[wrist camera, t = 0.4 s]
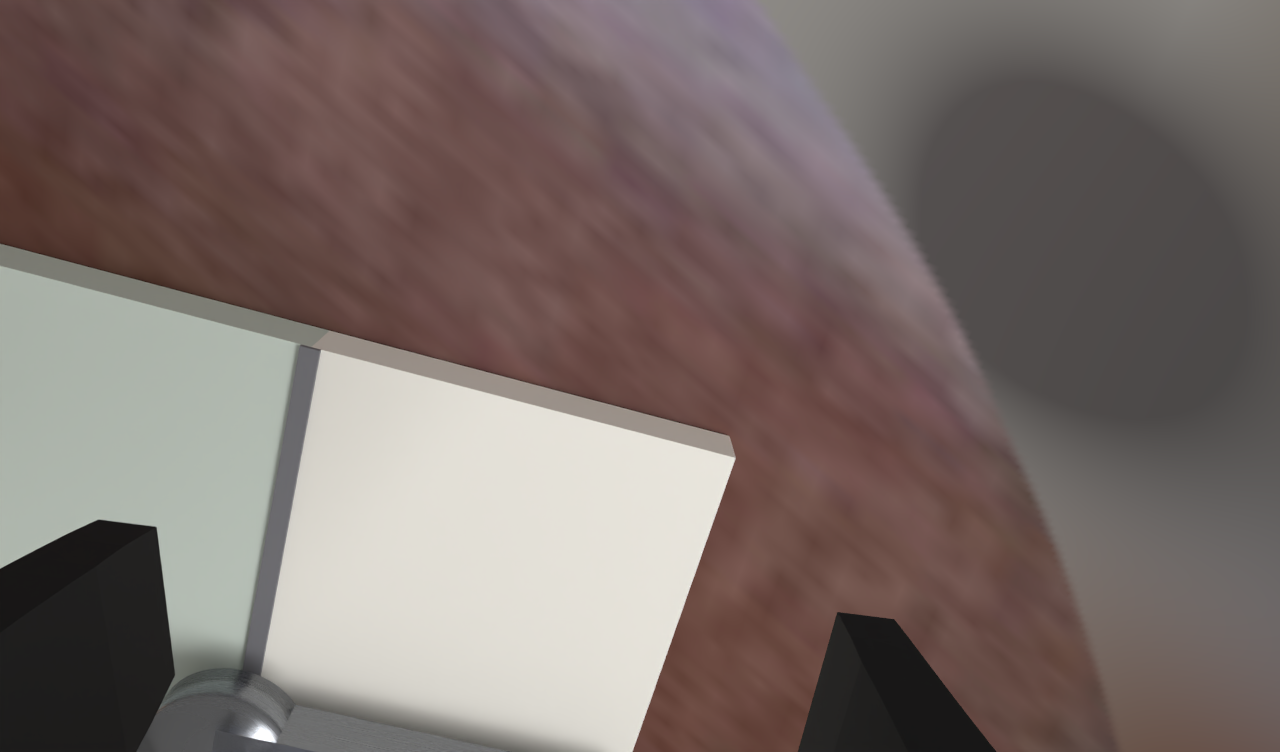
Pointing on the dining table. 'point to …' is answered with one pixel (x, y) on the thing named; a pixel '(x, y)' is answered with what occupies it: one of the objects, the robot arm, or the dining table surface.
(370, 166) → the dining table surface
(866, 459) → the dining table surface
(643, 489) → the plate
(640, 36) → the dining table surface
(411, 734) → the bar
